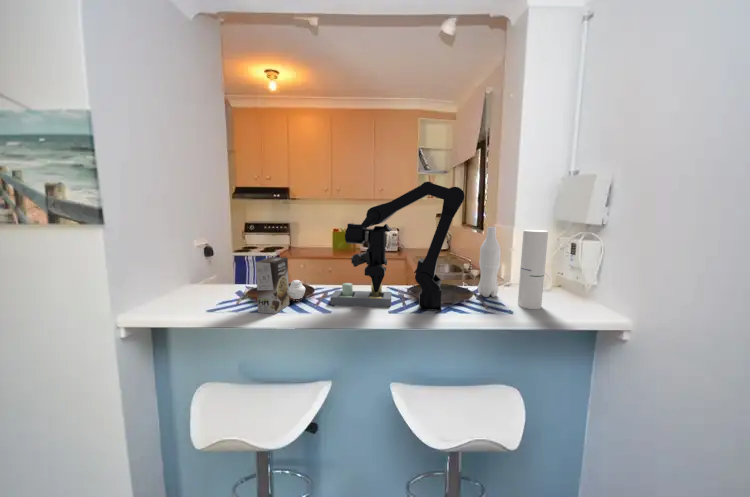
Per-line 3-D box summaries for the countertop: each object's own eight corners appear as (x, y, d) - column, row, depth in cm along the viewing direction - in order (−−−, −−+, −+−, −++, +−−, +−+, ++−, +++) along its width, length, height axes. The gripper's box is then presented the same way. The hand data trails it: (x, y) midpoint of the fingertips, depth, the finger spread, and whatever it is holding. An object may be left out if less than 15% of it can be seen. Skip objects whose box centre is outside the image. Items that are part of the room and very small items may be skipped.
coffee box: (276, 314, 97) (274, 262, 95) (257, 312, 99) (254, 261, 96) (290, 304, 106) (288, 256, 104) (272, 303, 107) (270, 256, 105)
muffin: (292, 295, 116) (291, 277, 114) (308, 297, 114) (307, 278, 113) (284, 301, 110) (283, 281, 108) (301, 302, 108) (300, 282, 107)
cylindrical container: (522, 300, 112) (528, 229, 108) (544, 305, 107) (551, 230, 103) (514, 305, 107) (519, 230, 103) (536, 310, 102) (543, 232, 98)
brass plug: (372, 292, 111) (371, 276, 110) (382, 293, 110) (382, 276, 109) (370, 295, 107) (370, 278, 106) (381, 296, 107) (381, 278, 106)
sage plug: (343, 299, 112) (343, 282, 111) (353, 299, 112) (353, 283, 111) (341, 302, 108) (341, 285, 107) (351, 303, 108) (351, 285, 107)
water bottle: (499, 294, 118) (504, 227, 114) (495, 299, 112) (500, 228, 108) (480, 291, 122) (484, 226, 118) (474, 296, 116) (478, 227, 112)
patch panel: (391, 298, 113) (391, 291, 112) (390, 306, 105) (390, 298, 104) (335, 297, 114) (335, 289, 114) (330, 304, 106) (330, 296, 106)
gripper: (356, 240, 116) (356, 282, 118) (348, 248, 97) (348, 298, 100) (387, 241, 115) (386, 283, 117) (384, 249, 97) (384, 299, 99)
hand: (376, 290), depth 108 cm, fingers closed on brass plug, 3 cm apart
